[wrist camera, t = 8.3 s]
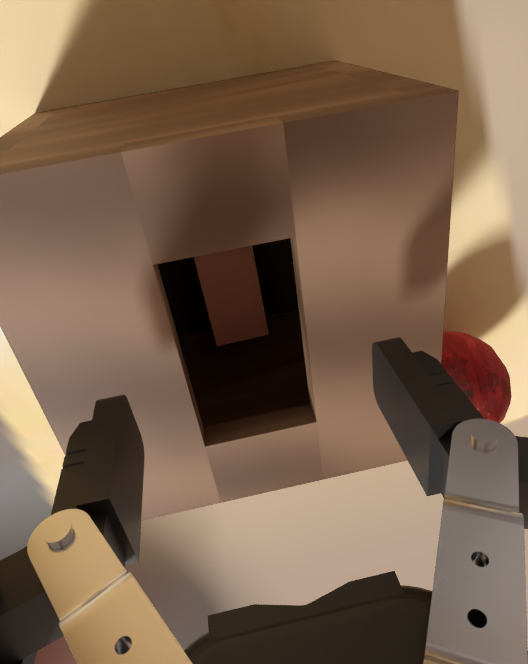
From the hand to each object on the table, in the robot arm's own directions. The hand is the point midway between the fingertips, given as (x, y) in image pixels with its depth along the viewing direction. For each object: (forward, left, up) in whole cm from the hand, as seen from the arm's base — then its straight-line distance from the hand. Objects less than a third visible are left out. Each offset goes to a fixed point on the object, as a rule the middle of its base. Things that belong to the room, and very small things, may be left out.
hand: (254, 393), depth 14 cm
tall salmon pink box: (+4, 0, -11) cm, 11 cm away
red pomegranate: (+10, +11, -13) cm, 20 cm away
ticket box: (0, 0, -13) cm, 13 cm away
